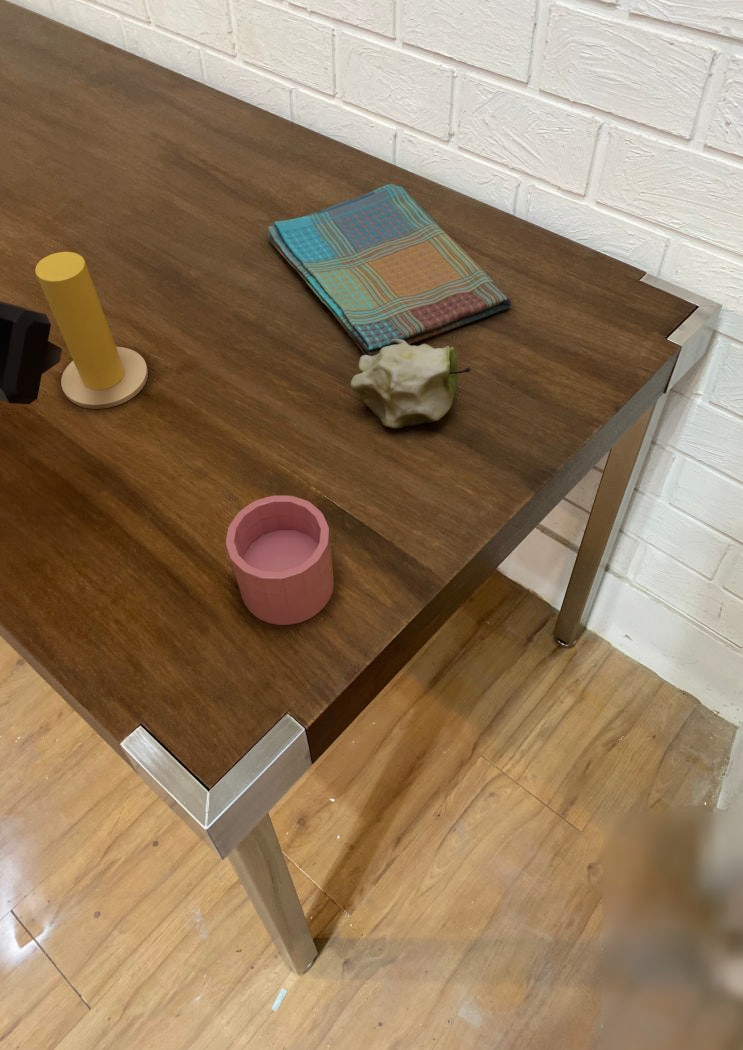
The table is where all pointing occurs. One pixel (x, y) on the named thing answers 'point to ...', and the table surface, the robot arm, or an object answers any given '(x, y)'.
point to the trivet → (111, 396)
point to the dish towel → (386, 269)
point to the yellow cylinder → (80, 319)
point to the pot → (281, 559)
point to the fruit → (408, 383)
